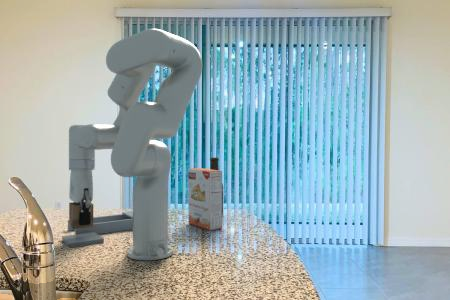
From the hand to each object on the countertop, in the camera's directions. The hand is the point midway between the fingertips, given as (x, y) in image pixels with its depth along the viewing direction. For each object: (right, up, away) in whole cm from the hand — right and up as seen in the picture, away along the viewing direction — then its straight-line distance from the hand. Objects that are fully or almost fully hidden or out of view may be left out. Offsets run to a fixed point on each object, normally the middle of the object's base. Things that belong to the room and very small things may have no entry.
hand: (81, 222), depth 120 cm
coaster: (0, -6, 0) cm, 6 cm away
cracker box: (+37, -6, +21) cm, 43 cm away
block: (0, -1, 0) cm, 1 cm away
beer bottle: (+40, -5, +41) cm, 57 cm away
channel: (+3, -5, +17) cm, 18 cm away
